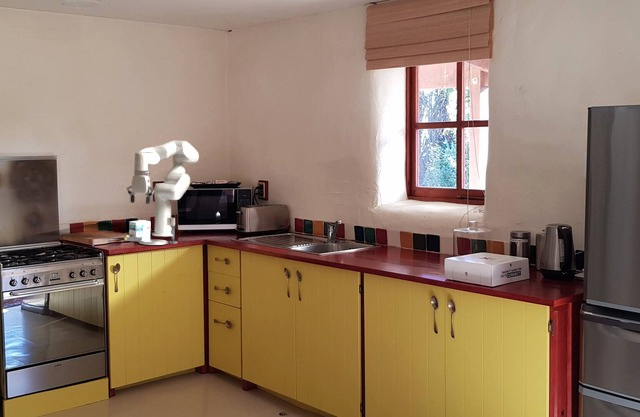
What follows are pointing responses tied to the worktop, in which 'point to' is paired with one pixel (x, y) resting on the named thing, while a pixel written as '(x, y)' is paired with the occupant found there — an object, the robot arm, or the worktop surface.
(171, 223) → the gauge stand
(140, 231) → the light bulb box
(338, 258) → the worktop surface
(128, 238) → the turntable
